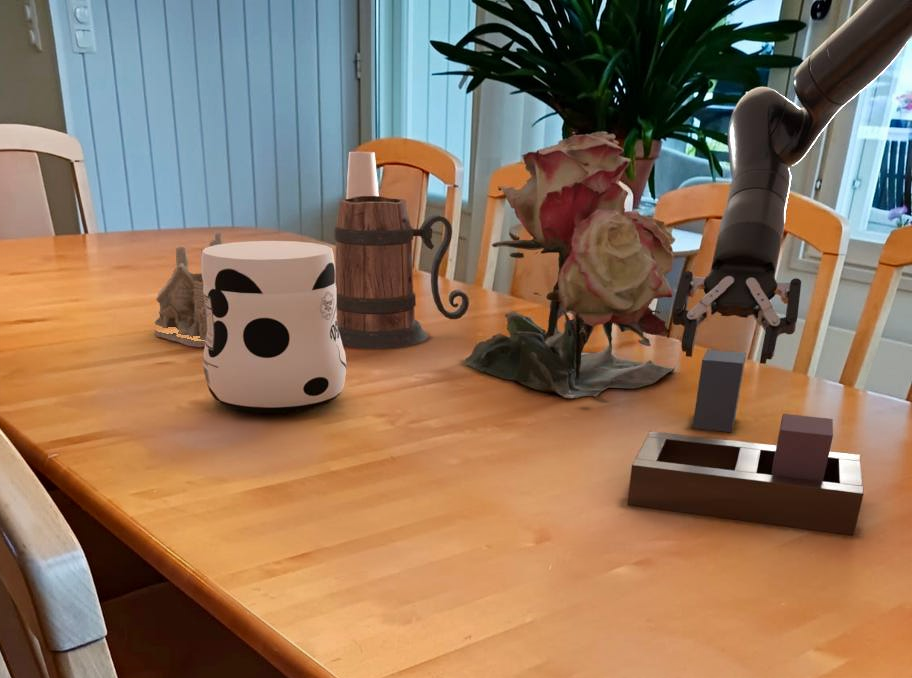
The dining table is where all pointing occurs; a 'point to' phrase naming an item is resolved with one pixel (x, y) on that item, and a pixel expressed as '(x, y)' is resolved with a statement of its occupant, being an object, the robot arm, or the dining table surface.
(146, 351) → the dining table surface
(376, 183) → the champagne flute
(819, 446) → the seated pad
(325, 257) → the milk container
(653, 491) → the frame
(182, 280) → the ceramic cottage
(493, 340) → the rose bouquet
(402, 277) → the tankard
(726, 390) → the blue-gray rectangular block
